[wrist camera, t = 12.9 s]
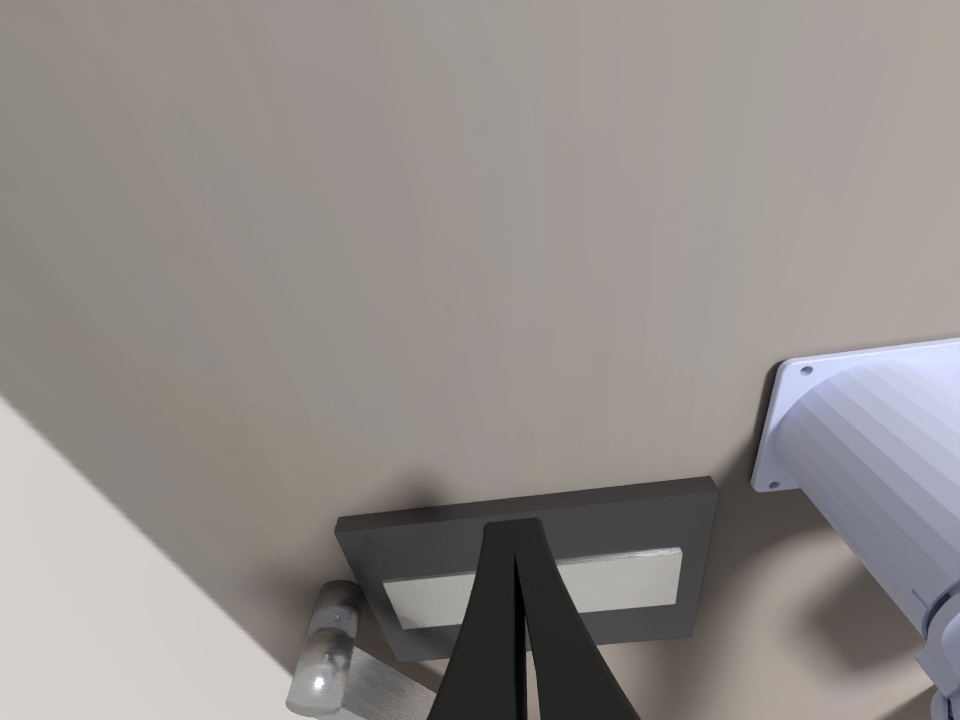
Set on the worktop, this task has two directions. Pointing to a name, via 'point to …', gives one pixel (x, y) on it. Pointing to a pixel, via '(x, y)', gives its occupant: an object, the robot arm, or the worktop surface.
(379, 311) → the worktop surface
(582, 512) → the panel
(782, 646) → the worktop surface
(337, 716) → the swing arm
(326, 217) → the worktop surface
